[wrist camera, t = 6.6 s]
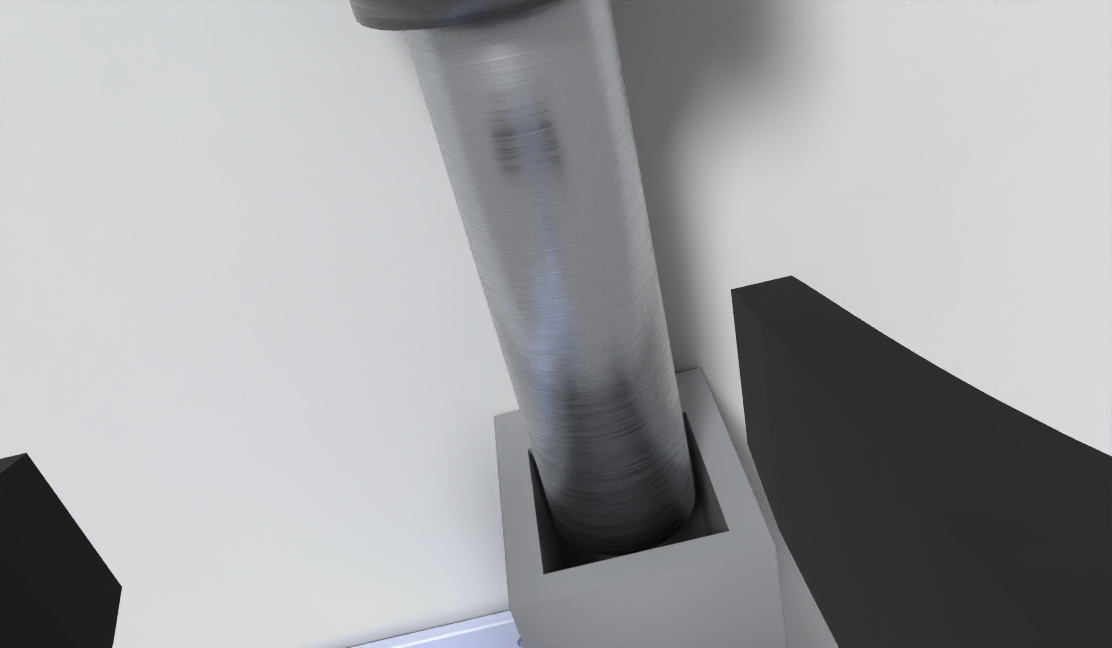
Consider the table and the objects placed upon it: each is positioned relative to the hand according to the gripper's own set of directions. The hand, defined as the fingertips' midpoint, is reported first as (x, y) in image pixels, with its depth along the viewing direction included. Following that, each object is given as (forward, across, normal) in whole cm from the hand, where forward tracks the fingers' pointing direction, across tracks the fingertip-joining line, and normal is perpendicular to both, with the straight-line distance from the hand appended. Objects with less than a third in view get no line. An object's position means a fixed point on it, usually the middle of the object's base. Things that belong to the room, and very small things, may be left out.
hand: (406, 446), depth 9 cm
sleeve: (+10, -2, +10) cm, 14 cm away
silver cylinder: (+8, -2, 0) cm, 9 cm away
